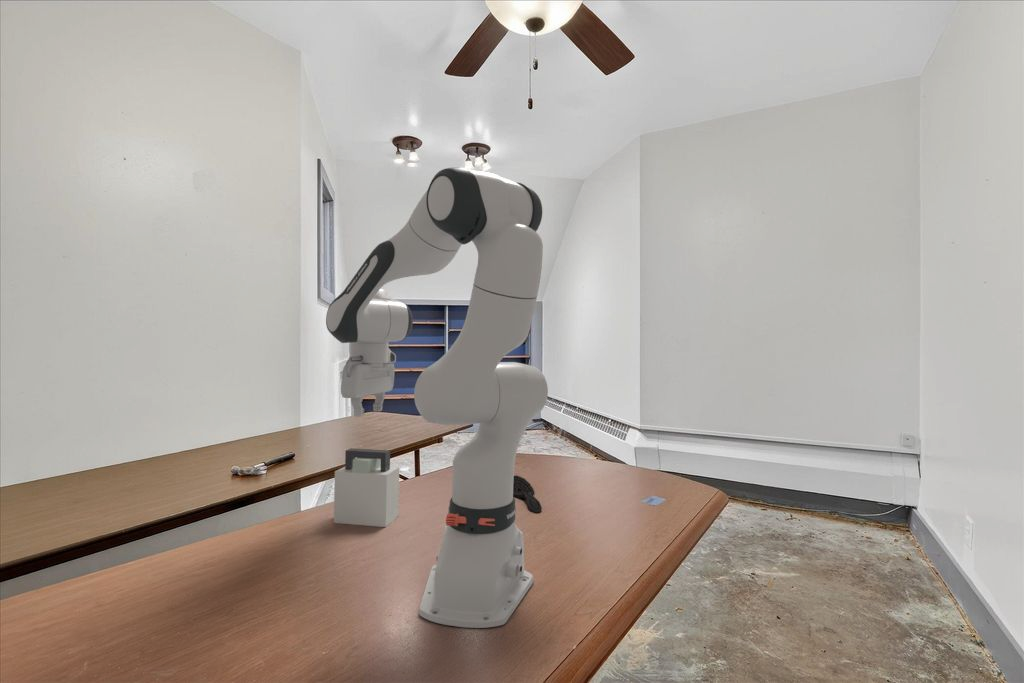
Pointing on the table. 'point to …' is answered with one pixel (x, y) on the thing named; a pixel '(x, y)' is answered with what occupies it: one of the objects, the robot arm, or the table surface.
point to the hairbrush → (526, 493)
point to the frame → (368, 453)
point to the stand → (366, 494)
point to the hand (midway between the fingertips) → (368, 413)
